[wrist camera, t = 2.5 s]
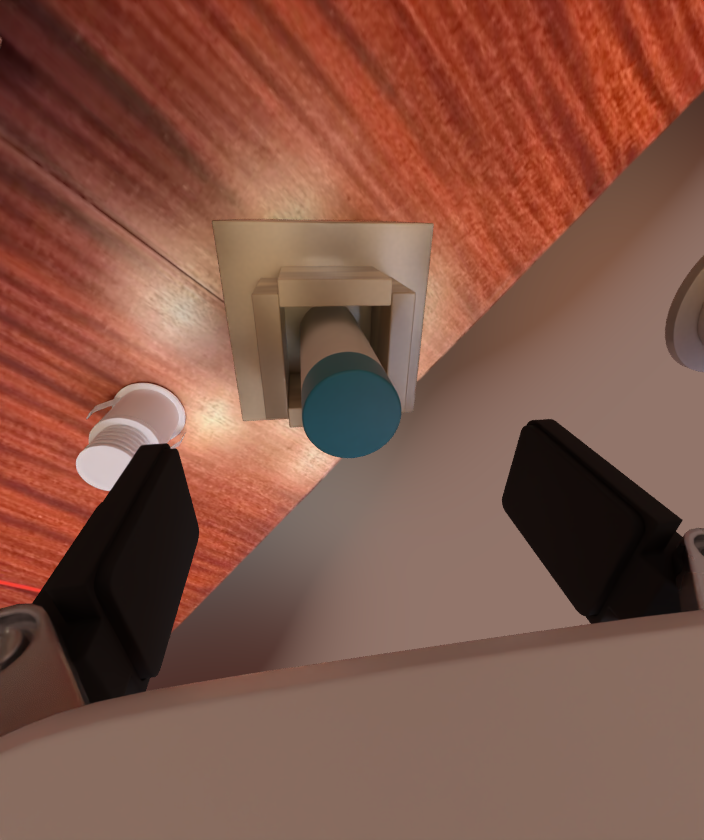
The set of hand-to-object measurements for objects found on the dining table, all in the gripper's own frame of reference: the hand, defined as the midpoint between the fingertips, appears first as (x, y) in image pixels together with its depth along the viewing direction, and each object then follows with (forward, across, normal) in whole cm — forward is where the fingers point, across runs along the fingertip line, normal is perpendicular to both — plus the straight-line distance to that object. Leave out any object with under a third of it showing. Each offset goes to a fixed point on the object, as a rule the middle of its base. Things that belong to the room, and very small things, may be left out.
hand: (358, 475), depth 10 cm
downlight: (+29, +18, +12) cm, 36 cm away
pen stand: (+28, 0, 0) cm, 28 cm away
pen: (+14, 0, 0) cm, 14 cm away
